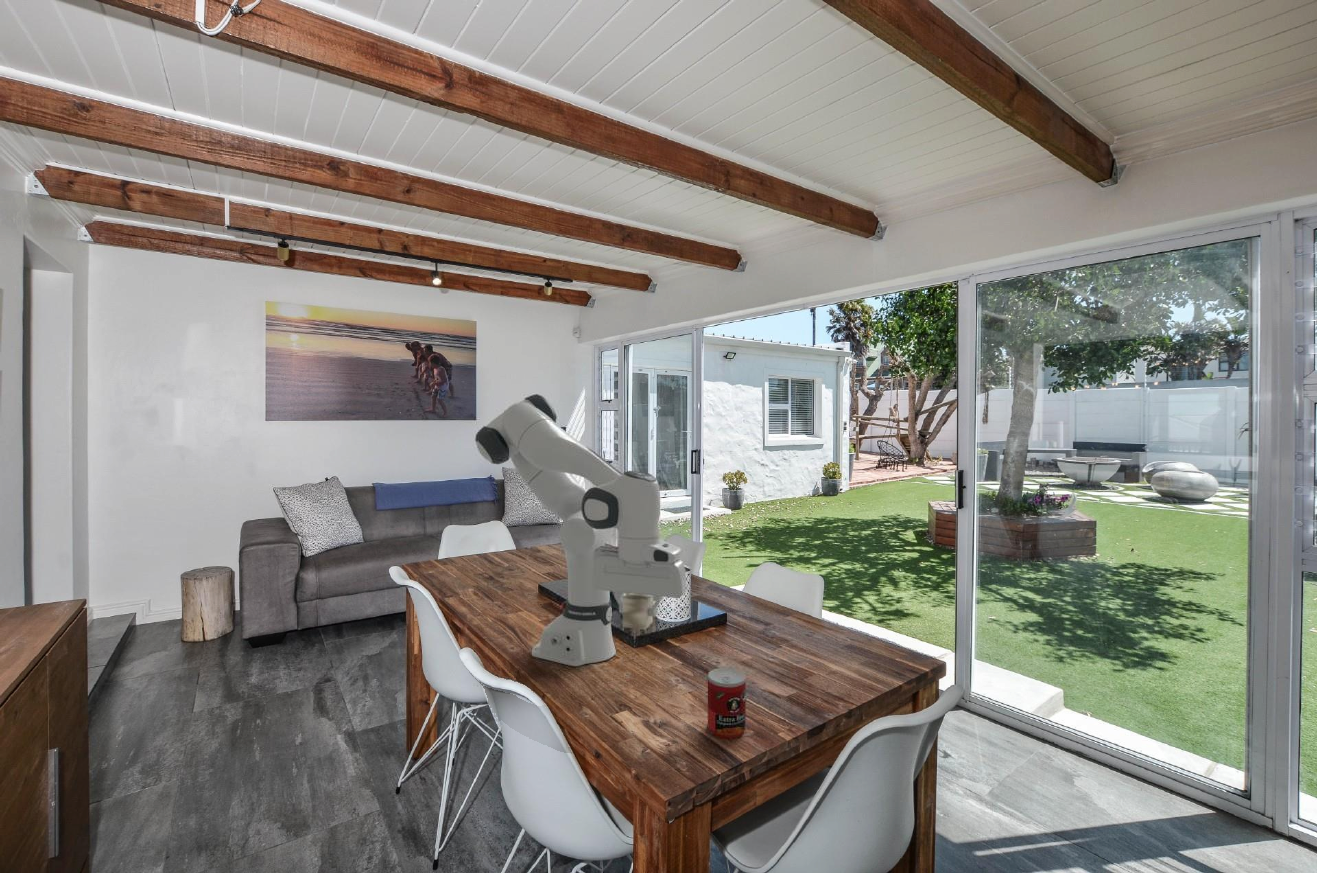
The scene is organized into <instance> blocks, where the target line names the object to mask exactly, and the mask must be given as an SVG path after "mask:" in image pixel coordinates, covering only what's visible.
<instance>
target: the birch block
mask: <svg viewBox="0 0 1317 873" xmlns="http://www.w3.org/2000/svg"><path fill="white" fill-rule="evenodd" d="M653 605H654V600H653V596H652V595H642V594H633V593H627V594H626V596H624V597H623V613H622V627H623V628H629V629H636V630H647V629H648V628H649V626H650V625H651V624H653V622H654V617H653V616H648V613H649V612H648V608H649V607H650V606H653Z"/></svg>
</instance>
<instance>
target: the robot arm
mask: <svg viewBox="0 0 1317 873" xmlns="http://www.w3.org/2000/svg"><path fill="white" fill-rule="evenodd" d="M557 418H558V416H557V412H556V410H555V408H554V407H553V404H551V402H550V401H549V400H548V399H547V398H545V396H543V395H540V394H539V393H538V394H537V393H536V394H533V395H528V396H527V397H525V398H524V399H523V400H522V401H519V402H515V403H514V404H511V405H510V406H509V407H508V408H507V409H505V410H503V412H502V413H501V414H499V415H497V417H495V418H494V419H492V420H491V421H490V422H489V423H488V424H487V425H485V426H484V425H483V426H482V427H481V428H480V429H479V430H478V431H477V432H476V434H475V440H474V441H475V443H476V444H475V445H476V448H477V450H478V452H479V454H480V455H481V456H482V458H484V459H485V460H487V461H488V462H490V463H491V464H493V465H500V464H504V463H506V462H507V461H509V460H511V462H512V463H513V465H514V467H515V469H516V471H517V473H518V474H519V476H520V477H521V479H522V480H523V482H524V483H525V485H526V486H527V487H528V489H530V490H531V492H532V493H533V495H534V496H535V497H536V498H537V500H538V501H539V502H540V503H541V505H542V506H543V507H544V509H546V510H547V511H549V512H551V513H552V514H554V515H555V516H557V518H558V519H560V520H561V521H563V523H562V525H561V527H560V528H559V529H560V530H559V533H558V535H559V536H558V537H559V538H558V539H559V543H560V545H561V547H562V548H563V552H564V556H565V558H564V559H565V561H566V568H567V578H568V579H567V590H568V594H567V595H568V597H567V599H566V600H565V601H563V602H562V604H560V605H559V610H560V611H561V610H562V613H561V614H560V615H558V616H557V617H556V618H555V619H554V620H552V621H551V622H550V623H548V624H547V625H546V626H545V627H544V629H543V630H542V632H541V636H540V641H539V642H537V644H535V646H533V648H532V650H531V656H532V657H535V658H538V659H542V660H546V661H551V662H553V663H554V662H555V663H559V664H563V665H567V666H571V667H579V666H584V665H586V664H593V663H600V662H603V661H607V660H609V659H611V658H612V657H614V656H615V655H616V652H617V650H616V648H615V643H614V639H613V634H612V633H613V632H612V624H611V622H612V615H613V614H612V612H613V610H612V599H611V596H610V595H611V594H610V592H613V593H614V595H613V597H614V599H615V601H616V602H617V604H618V607H619V608H618V609H619V610H618V612H619V613H620V614H623V598H624V597H623V595H625V594H629V593H633V594H642V595H652V596H653V606H650V607H649V608H648V612H649V613H648V616H653V618H654V617H656V616H657V614H658V607H659V604H660V603H661V601H662V600H663V597H665V598H671V599H672V598H673V599H679V598H680V599H681V598H682V597H683V596H684V595H685V593H686V592H687V575H686V574H687V573H686V568H685V565H684V562H683V561H682V560H681V559H680V558H681V557H682V552H683V550H682V548H681V547H679V546H678V545H677V546H676V545H675V544H672V543H670V542H667V541H665V540H663V539H661V532H660V527H659V522H660V521H659V520H660V517H661V492H660V485H659V481H658V480H657V477H655V476H654V475H653V474H652V473H649V472H644V471H637V470H627V471H624V472H623V473H622V472H621V471H620V470H619V469H617V467H615V466H613V465H612V464H611V463H610V462H608V461H607V460H606V459H605V458H603V457H602V456H601V455H599V453H596V452H595V451H594V450H592V449H591V448H590V447H588V446H586V445H585V444H584V443H582V442H581V441H579V440H578V439H576V438H575V437H573V436H572V435H571V434H570V433H568V432H567V431H566V430H564V429H563V427H561V426H560V425H559V424H558V423H557ZM573 475H576V476H579V477H582V478H584V479H586V480H587V481H589V482H590V483H592V484H593V485H594V487H590V488H589V489H588V490H587V489H586V488H584V486H583V485H582V484H580V482H579V481H578V480H577V479H576V478H575V476H573ZM615 529H617V531H618V532H617V538H618V540H617V546H607V545H606V542H607V541H609V540H610V538H612V535H613V534H614V531H615ZM654 601H655V602H654Z"/></svg>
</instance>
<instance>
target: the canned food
mask: <svg viewBox="0 0 1317 873" xmlns="http://www.w3.org/2000/svg"><path fill="white" fill-rule="evenodd" d="M746 696H747V680H746V675H745V673H743V671H741V670H739V669H735V668H731V667H719V668H715V669H712V670H710V671H709V672H708V673H707V728H708V731H709V732H710V733H711V734H712V735H713V736H715V737H717V738H720V739H725V740H727V739H729V740H730V739H736V738H739V737H741V736H742V735H743V734H744V733H745V731H746V726H747V724H746V723H747V722H746V721H747V720H746V718H747V716H746V713H747V712H746V710H747V708H746V706H747V705H746V704H747V702H746V699H747V697H746Z"/></svg>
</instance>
